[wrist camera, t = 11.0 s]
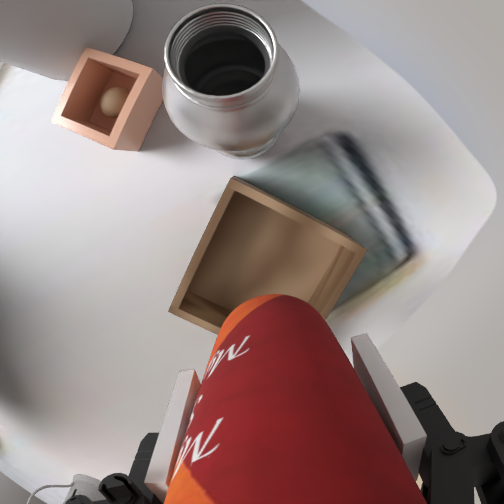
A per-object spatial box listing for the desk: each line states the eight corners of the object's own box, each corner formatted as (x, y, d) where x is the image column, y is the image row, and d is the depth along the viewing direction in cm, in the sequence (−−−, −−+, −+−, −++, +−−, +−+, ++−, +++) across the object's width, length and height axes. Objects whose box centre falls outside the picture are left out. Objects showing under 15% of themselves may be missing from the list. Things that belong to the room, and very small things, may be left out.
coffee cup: (182, 282, 16) (31, 590, 2) (346, 260, 16) (554, 536, 1) (213, 407, 18) (182, 643, 4) (347, 391, 18) (422, 618, 3)
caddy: (179, 290, 32) (168, 311, 27) (234, 175, 29) (230, 178, 24) (288, 339, 33) (294, 366, 29) (350, 236, 31) (367, 249, 26)
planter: (82, 127, 28) (50, 121, 22) (112, 64, 26) (85, 47, 20) (138, 151, 28) (113, 149, 23) (171, 85, 27) (152, 68, 21)
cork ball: (103, 114, 27) (89, 110, 24) (116, 86, 26) (103, 79, 23) (127, 124, 27) (115, 120, 24) (141, 95, 26) (130, 89, 24)
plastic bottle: (251, 174, 29) (248, 191, 10) (190, 132, 28) (85, 83, 9) (293, 118, 28) (365, 40, 8) (232, 77, 27) (200, -52, 7)
